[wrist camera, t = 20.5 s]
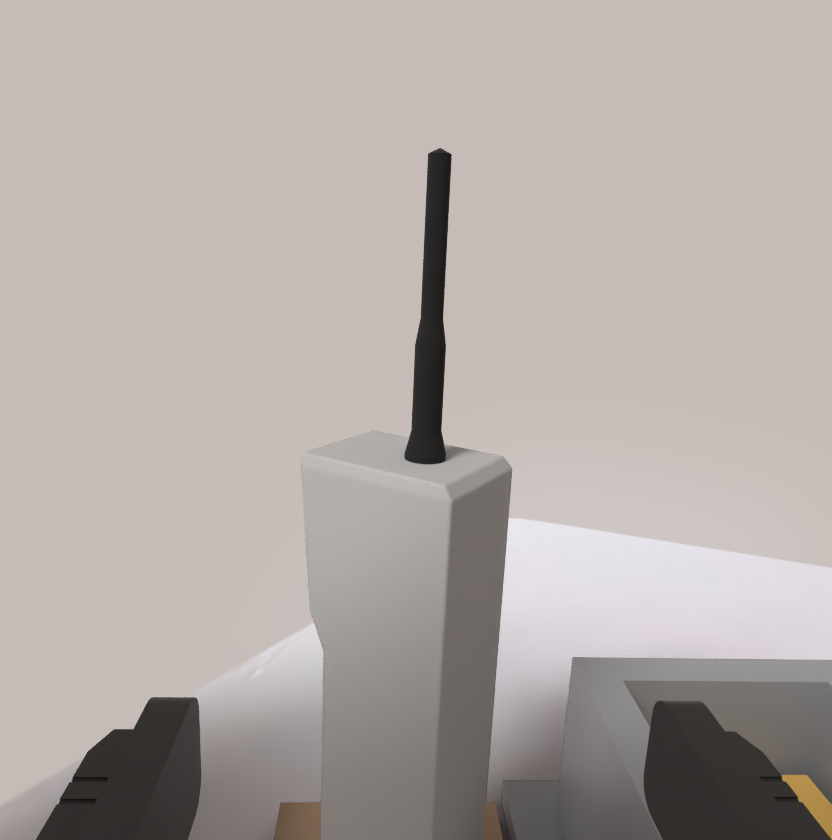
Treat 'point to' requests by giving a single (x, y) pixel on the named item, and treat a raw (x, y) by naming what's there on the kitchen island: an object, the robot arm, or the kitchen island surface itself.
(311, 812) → the walnut pad
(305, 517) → the vintage mobile phone
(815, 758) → the box
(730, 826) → the robot arm
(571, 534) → the kitchen island surface
